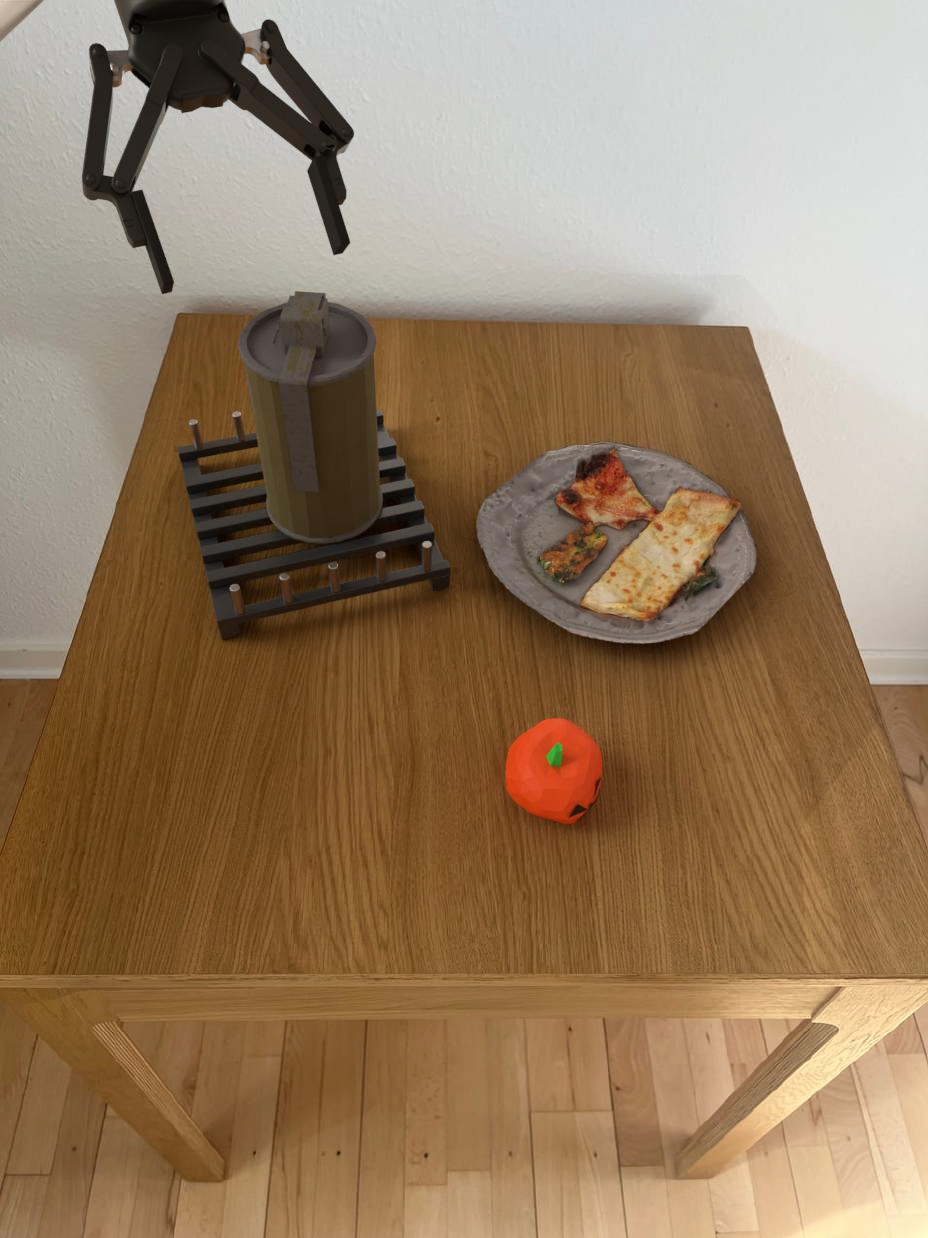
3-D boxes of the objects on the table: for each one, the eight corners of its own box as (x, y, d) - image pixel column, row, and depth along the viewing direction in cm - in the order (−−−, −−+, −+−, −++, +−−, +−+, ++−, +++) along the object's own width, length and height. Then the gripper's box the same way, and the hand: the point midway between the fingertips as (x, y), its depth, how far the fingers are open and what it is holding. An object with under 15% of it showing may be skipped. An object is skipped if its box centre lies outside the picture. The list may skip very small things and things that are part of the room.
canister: (279, 459, 88) (250, 263, 73) (390, 468, 88) (383, 274, 73) (254, 543, 82) (215, 347, 66) (373, 553, 81) (362, 360, 66)
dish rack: (222, 640, 78) (210, 597, 74) (182, 467, 91) (170, 422, 87) (450, 586, 83) (451, 543, 78) (381, 429, 96) (379, 384, 91)
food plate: (593, 426, 97) (598, 398, 94) (793, 538, 88) (805, 512, 85) (429, 556, 85) (430, 529, 82) (642, 703, 76) (650, 678, 73)
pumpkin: (601, 749, 73) (615, 703, 68) (593, 843, 68) (607, 801, 63) (510, 733, 74) (517, 687, 69) (495, 826, 69) (501, 783, 64)
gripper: (313, -22, 74) (395, 248, 78) (-18, 20, 67) (90, 318, 70) (334, -83, 67) (423, 217, 71) (-33, -43, 60) (87, 291, 63)
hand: (257, 268), depth 71 cm, fingers open, 13 cm apart
